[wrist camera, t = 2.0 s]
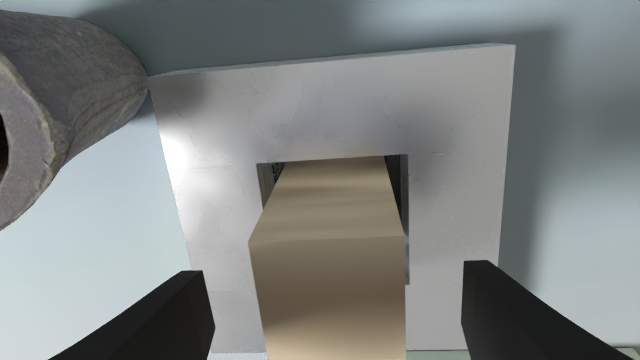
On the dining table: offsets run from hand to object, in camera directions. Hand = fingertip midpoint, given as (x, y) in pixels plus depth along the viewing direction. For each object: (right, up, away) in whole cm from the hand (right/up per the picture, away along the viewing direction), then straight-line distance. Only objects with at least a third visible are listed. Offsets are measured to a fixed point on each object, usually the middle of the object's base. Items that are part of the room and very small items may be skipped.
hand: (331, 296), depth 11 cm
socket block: (0, +2, +6) cm, 7 cm away
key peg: (0, +2, +6) cm, 7 cm away
